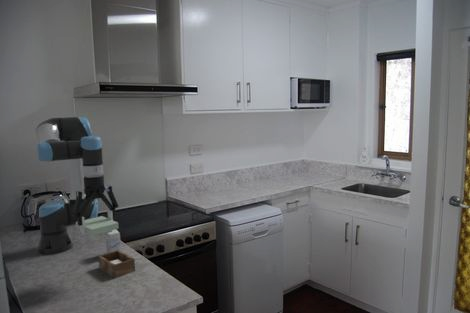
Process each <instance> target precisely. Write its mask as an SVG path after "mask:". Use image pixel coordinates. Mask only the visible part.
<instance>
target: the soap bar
mask: <svg viewBox="0 0 470 313" xmlns="http://www.w3.org/2000/svg"><path fill="white" fill-rule="evenodd" d="M110 262H112V263H113V264H118V263H121V262H122V261H120V260H118V259H117V260H113V261H110Z"/></svg>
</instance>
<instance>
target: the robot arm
mask: <svg viewBox="0 0 470 313" xmlns="http://www.w3.org/2000/svg"><path fill="white" fill-rule="evenodd" d="M35 136H36V138H37V140H39V142H38V143H37V145H36V148H37V150H36V151H37V158H38V161H39V162H57V161H68V163H69V175H70V176H69V177H70V184H71V185H70V186H71V187H70V188H71V196H70V197H69V201H68V202H66V201H65V200H63V199H59V200H58V199H57V200H53V201H49V202H46V203H43V204H42V205H41V206H40V207H39V208H38V218H39V228H40V229H39V230H40V231H39V232H40V238H39V241H38V245H37V251H38V254H41V255H54V254H59V253H63V252H65V251H68V250H70V249H71V248H72V247H73V242H72V239H71V236H70V234H69V233H68V227H70V226H76V222H78V225H79V226H80V230H79V231H80V233H81V234H83V235H84V234H86V232H85V221H84V220H87V219H92V218H96V217H98V214H99V202H98V199H100V200H101V201H102V202H103V203H104V204H105V206H106V207H107V208H108V209H107V218H108V219H110V220H113V221H114V218H115V211H116V209H117V208H119V204H118V202H117V199H116V197H115V194H114V192H113V186H111V185H106V186H105V176H104V162H103V144H102V138H101V137H100V136H98V135H97V136H96V135H95V136H93V132H92V128H91V125H90V121H89V120H88V118H87V117H84V116H83V117H82V116H81V117H80V116H75V117H51V118H48V119H45V120H43V121H42V122H41V123H39V124H38V125H37V127H36V129H35ZM105 192H106V193H107V195H108V198H109V199H108V198H107V196H106V195H105V194H104V193H105Z"/></svg>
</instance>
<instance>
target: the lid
mask: <svg viewBox="0 0 470 313" xmlns="http://www.w3.org/2000/svg"><path fill="white" fill-rule="evenodd" d="M84 221H85V234H88V235H90V236H96V237H98V236H101V235H104V234H106V233H109V232H112V230H115V229H116V230H118V229H119V228H120V227H119V222H118V221H115V220H114V219H113V220H110V219H108V217H105V216H104V215H101V216H97V217H96V218H92V219H87V220H84ZM75 228H76V229H77V230H79V231H80V226H79V225H78V222H76V225H75Z"/></svg>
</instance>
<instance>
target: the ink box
mask: <svg viewBox="0 0 470 313" xmlns="http://www.w3.org/2000/svg"><path fill="white" fill-rule="evenodd" d="M121 242H122V241H121V233H120V232H119V231H118V229H115V230H112V232H109V233H106V234H105V244H106V245H105V246H106V254H107V253H111V252H114V251H117V250H119V251H121V252H123V251H122V245H121Z"/></svg>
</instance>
